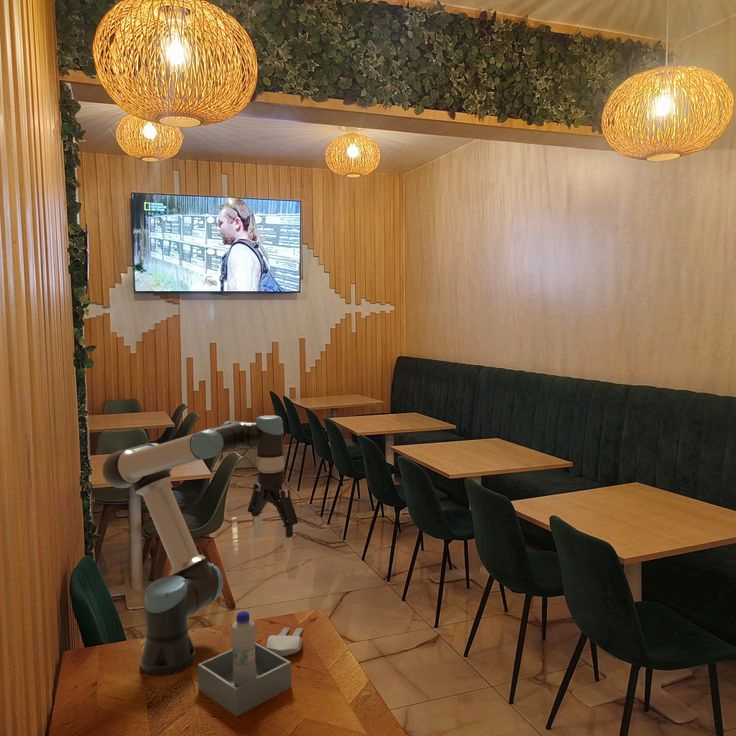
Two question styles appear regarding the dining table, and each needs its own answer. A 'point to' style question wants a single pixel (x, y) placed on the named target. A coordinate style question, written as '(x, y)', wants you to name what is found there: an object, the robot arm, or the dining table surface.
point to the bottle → (243, 649)
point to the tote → (238, 700)
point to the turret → (285, 642)
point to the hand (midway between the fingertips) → (272, 542)
